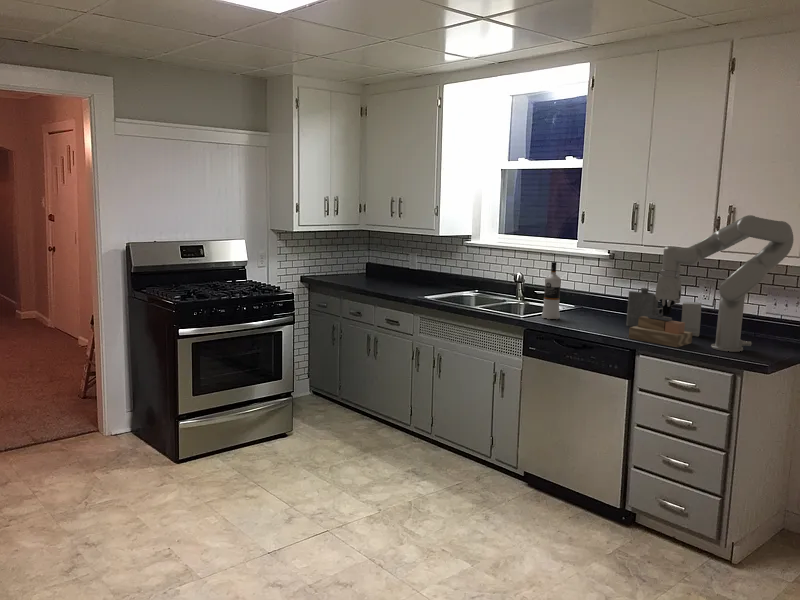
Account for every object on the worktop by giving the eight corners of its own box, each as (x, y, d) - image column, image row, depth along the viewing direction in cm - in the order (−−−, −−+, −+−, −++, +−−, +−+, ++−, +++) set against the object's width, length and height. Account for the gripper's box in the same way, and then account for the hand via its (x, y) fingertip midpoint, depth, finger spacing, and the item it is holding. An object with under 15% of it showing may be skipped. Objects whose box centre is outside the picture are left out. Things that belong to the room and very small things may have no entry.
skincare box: (699, 334, 326) (702, 302, 324) (698, 337, 321) (701, 304, 318) (680, 332, 330) (683, 300, 328) (679, 335, 324) (682, 302, 322)
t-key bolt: (652, 316, 314) (653, 306, 314) (673, 319, 307) (674, 309, 306) (646, 317, 310) (647, 307, 310) (667, 321, 303) (668, 310, 302)
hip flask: (624, 325, 345) (627, 286, 342) (629, 324, 348) (632, 285, 345) (653, 330, 333) (656, 290, 330) (658, 330, 335) (661, 289, 332)
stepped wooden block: (643, 334, 323) (645, 314, 321) (691, 343, 306) (693, 322, 304) (628, 338, 313) (630, 317, 312) (676, 347, 297) (678, 325, 295)
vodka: (563, 318, 359) (566, 262, 355) (551, 320, 354) (554, 262, 349) (549, 316, 367) (553, 260, 362) (538, 317, 361) (541, 261, 357)
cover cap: (671, 330, 308) (672, 320, 308) (684, 332, 304) (685, 322, 303) (664, 331, 304) (665, 322, 304) (677, 334, 300) (678, 324, 299)
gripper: (650, 272, 306) (646, 313, 309) (682, 276, 295) (678, 318, 298) (658, 271, 311) (654, 311, 314) (690, 275, 300) (686, 316, 303)
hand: (666, 314), depth 306 cm, fingers closed
